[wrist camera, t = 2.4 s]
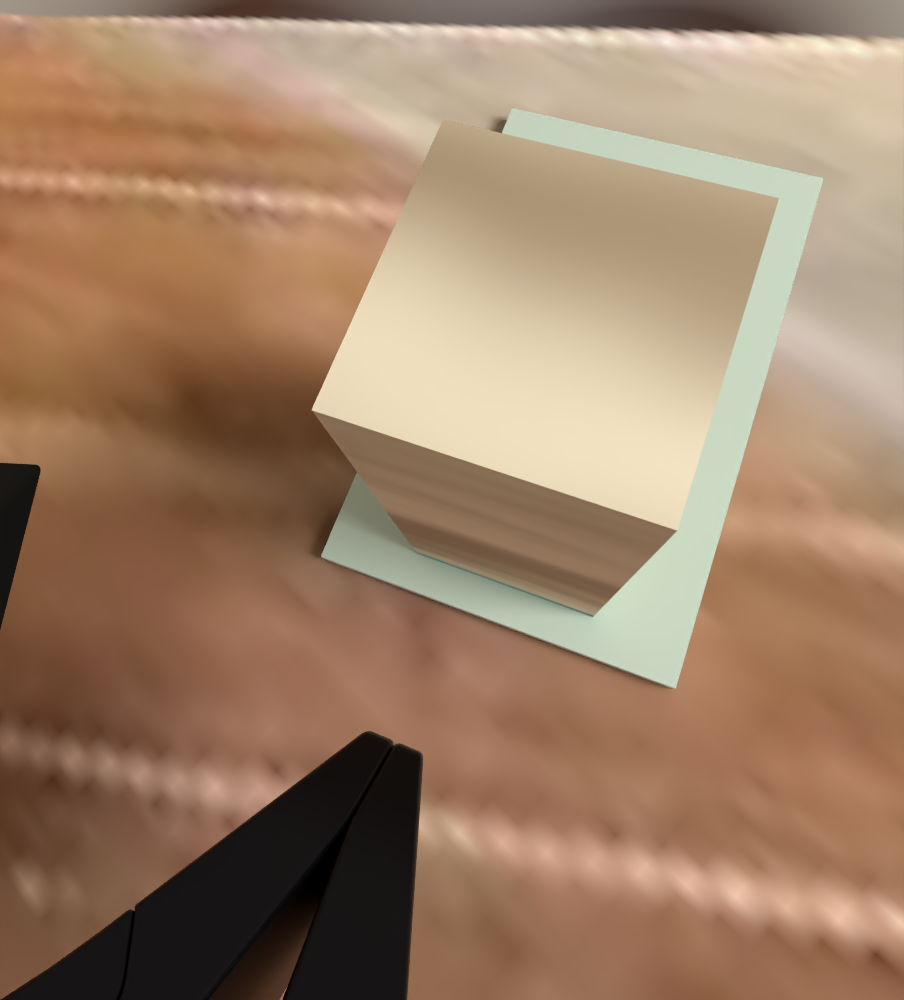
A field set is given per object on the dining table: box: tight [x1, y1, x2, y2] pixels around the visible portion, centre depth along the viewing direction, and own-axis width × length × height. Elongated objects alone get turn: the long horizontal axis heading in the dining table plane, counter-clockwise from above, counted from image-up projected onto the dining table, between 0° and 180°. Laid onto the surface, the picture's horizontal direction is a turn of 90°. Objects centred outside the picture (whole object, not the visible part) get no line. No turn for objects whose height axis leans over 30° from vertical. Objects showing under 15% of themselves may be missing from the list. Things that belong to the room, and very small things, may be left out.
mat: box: [321, 108, 824, 689], centre depth 20 cm, size 16×10×1 cm, turn 159°
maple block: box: [312, 120, 779, 617], centre depth 14 cm, size 5×5×10 cm
